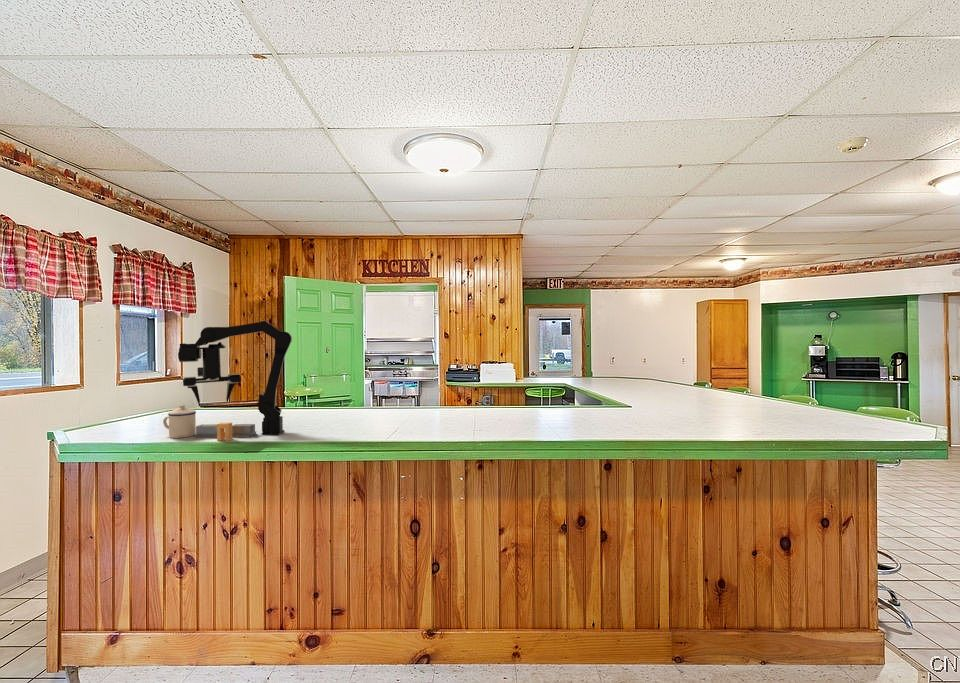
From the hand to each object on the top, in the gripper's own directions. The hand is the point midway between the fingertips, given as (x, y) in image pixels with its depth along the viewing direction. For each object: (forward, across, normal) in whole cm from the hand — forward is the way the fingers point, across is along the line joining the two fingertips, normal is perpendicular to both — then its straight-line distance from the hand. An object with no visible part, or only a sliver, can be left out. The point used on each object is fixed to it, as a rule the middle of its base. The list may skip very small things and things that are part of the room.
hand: (213, 403), depth 185 cm
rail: (+13, -4, 0) cm, 13 cm away
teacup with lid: (+13, +11, -10) cm, 20 cm away
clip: (+13, -2, +8) cm, 15 cm away
